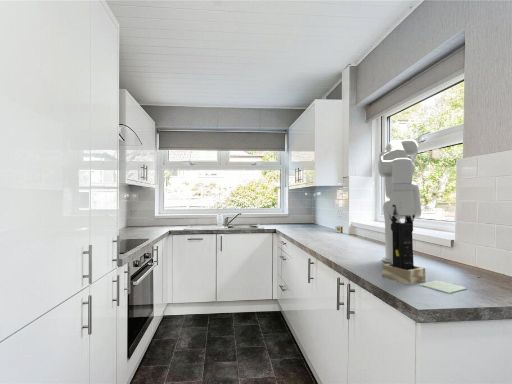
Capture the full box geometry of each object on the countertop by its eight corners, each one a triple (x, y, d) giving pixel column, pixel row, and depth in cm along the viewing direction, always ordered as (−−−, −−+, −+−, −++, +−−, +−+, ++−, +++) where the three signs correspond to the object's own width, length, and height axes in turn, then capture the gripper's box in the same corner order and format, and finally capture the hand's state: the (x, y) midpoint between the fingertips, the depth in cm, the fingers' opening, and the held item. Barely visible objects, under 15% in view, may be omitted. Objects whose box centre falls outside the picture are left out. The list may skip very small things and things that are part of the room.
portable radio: (401, 281, 115) (400, 218, 115) (389, 277, 121) (388, 217, 121) (415, 279, 118) (415, 217, 118) (403, 276, 123) (402, 216, 124)
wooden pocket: (398, 273, 127) (398, 262, 127) (425, 280, 116) (425, 268, 116) (382, 276, 123) (382, 264, 123) (408, 284, 112) (408, 271, 112)
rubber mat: (436, 281, 116) (436, 280, 116) (467, 289, 106) (467, 288, 106) (419, 285, 111) (419, 284, 111) (449, 293, 101) (449, 292, 101)
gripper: (407, 188, 127) (408, 229, 127) (379, 188, 119) (380, 232, 119) (424, 188, 121) (424, 231, 120) (395, 188, 113) (396, 234, 112)
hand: (402, 231), depth 120 cm, fingers closed on portable radio, 7 cm apart
